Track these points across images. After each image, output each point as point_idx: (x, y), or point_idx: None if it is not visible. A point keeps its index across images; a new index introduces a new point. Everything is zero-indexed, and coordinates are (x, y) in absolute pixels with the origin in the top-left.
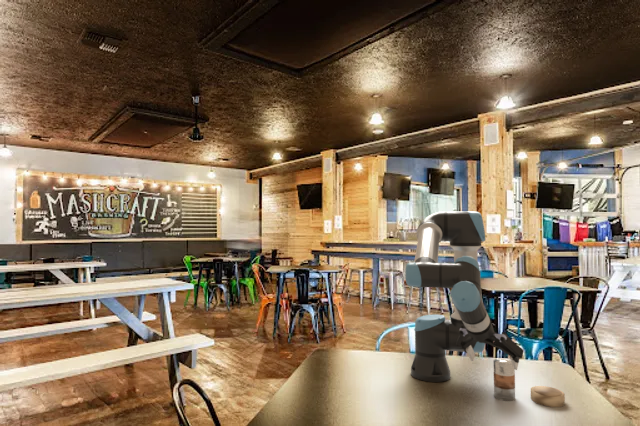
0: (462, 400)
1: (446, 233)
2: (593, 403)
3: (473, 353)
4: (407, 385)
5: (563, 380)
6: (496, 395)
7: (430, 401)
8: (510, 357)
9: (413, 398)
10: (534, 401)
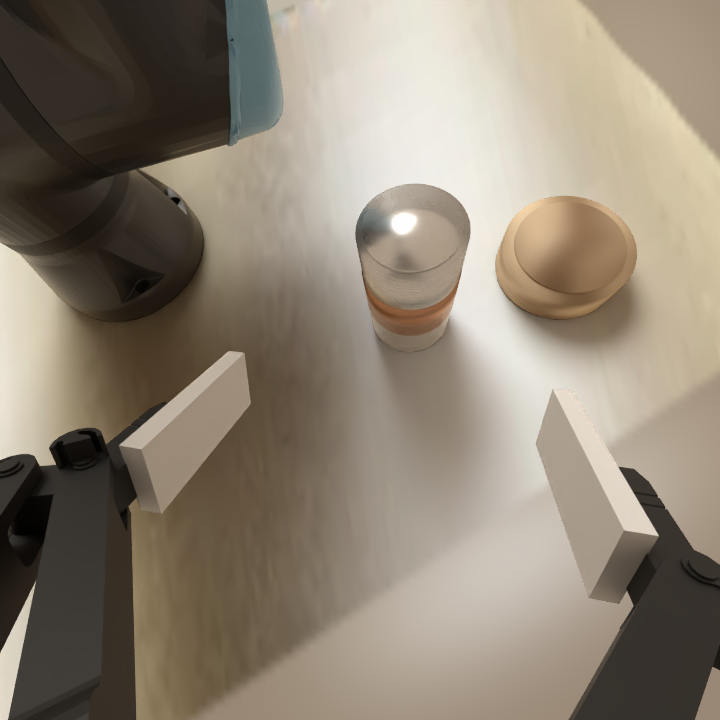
0: (272, 430)
1: None
2: (696, 201)
3: (229, 384)
4: (62, 395)
5: (558, 63)
6: (384, 339)
7: None
8: (597, 595)
9: None
10: (516, 303)
